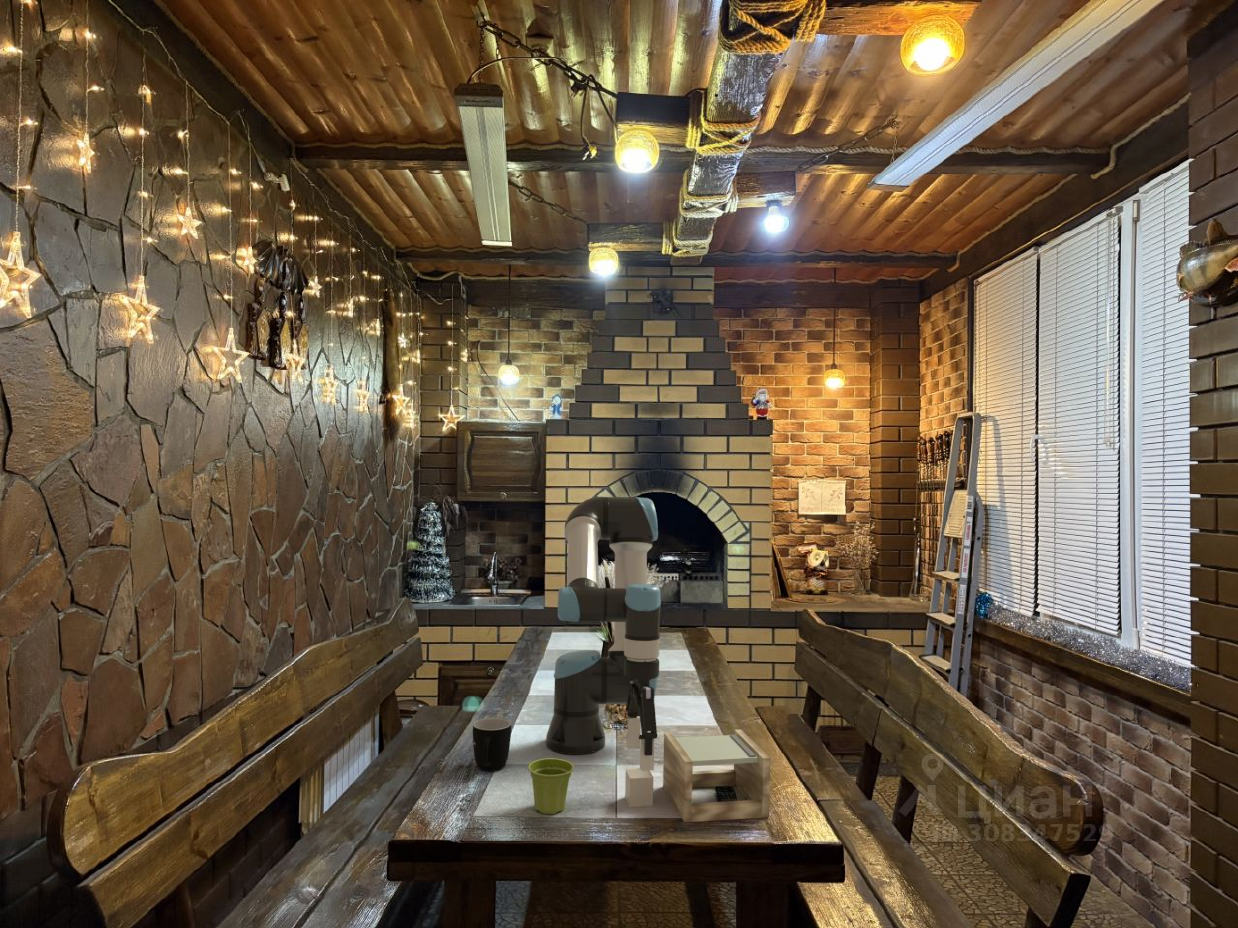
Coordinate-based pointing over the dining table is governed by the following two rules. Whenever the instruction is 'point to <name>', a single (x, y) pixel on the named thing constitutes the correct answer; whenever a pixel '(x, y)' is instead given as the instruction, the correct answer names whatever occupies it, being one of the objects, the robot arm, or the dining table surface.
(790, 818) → the dining table surface
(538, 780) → the plant pot
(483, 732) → the mug
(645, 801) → the beige block
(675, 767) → the hatch frame
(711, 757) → the trapdoor
